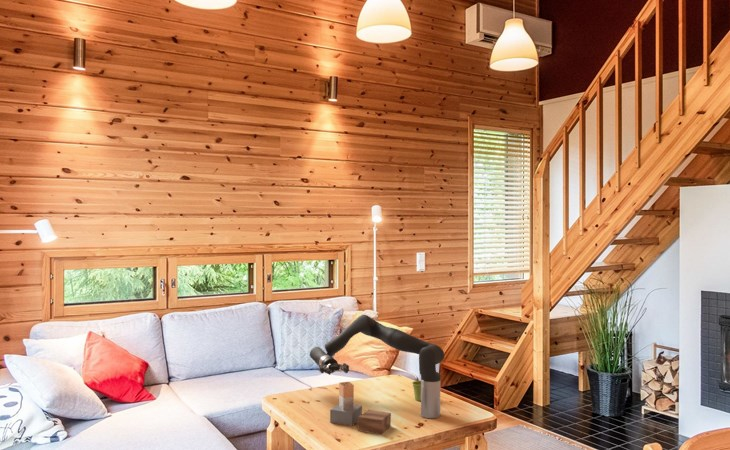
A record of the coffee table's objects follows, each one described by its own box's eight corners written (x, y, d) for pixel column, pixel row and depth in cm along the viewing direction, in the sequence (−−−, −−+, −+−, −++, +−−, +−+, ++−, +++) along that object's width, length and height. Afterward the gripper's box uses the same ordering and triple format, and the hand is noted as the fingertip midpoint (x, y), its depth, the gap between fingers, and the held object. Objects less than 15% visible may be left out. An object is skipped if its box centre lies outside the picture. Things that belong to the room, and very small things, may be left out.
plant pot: (419, 395, 315) (420, 379, 315) (433, 399, 308) (434, 383, 308) (408, 399, 308) (408, 382, 308) (422, 403, 302) (422, 386, 301)
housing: (349, 405, 279) (349, 381, 279) (353, 408, 274) (353, 385, 274) (339, 406, 277) (339, 382, 277) (343, 410, 272) (343, 386, 272)
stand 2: (368, 422, 273) (368, 409, 273) (390, 426, 268) (390, 412, 268) (358, 430, 263) (358, 416, 263) (381, 434, 258) (381, 420, 258)
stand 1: (340, 415, 283) (340, 402, 283) (361, 418, 278) (361, 405, 278) (330, 422, 273) (330, 409, 273) (351, 425, 268) (351, 412, 268)
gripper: (314, 357, 298) (324, 365, 283) (341, 355, 304) (352, 363, 288) (314, 372, 299) (324, 380, 283) (341, 370, 304) (352, 378, 289)
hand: (338, 371), depth 286 cm, fingers open, 8 cm apart
